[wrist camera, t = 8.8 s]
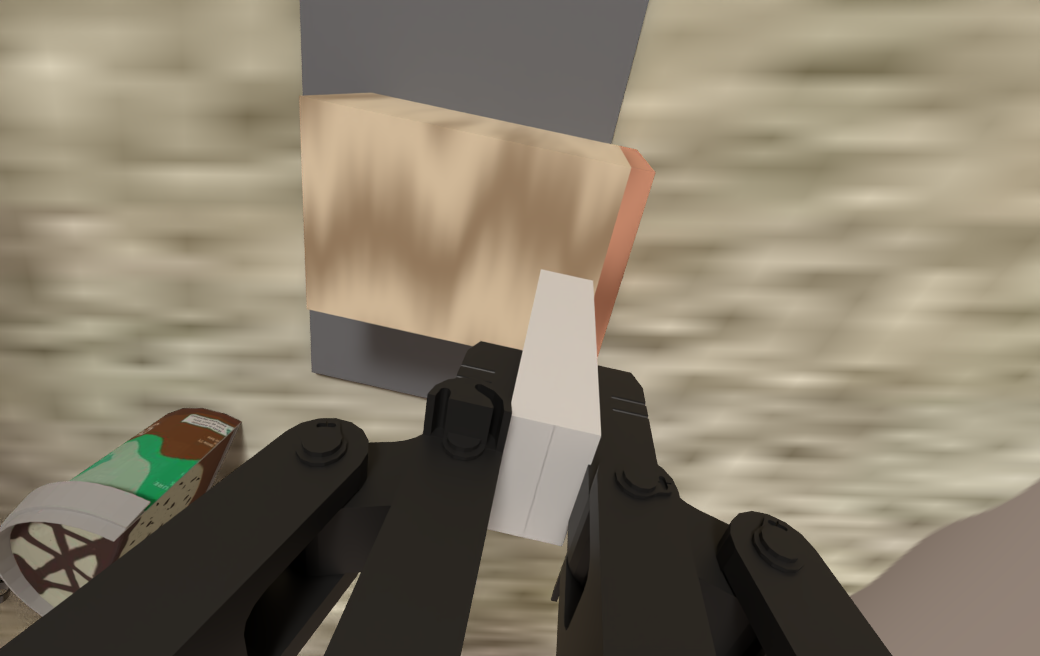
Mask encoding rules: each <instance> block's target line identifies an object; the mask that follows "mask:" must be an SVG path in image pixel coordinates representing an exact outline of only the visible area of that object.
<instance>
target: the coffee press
mask: <svg viewBox="0 0 1040 656" xmlns="http://www.w3.org/2000/svg"><path fill="white" fill-rule="evenodd" d="M0 589H5V590H7V592H6V593H4V594H3V595H1V596H0V603H2V602H4V601H5V600H6V599H7V598H8V597H9V596H10V590H11V589H10V588H9V587H8V586H7V585H6V584H5V582H4V581H0Z"/></svg>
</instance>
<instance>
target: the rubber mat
mask: <svg viewBox="0 0 1040 656" xmlns="http://www.w3.org/2000/svg"><path fill="white" fill-rule="evenodd" d="M648 2H649V0H300V23H301V54H302V85H303V96H307V95H329V94H352V93H375V94H380V95H385V96H389V97H394V98H399V99H403V100H408V101H413V102H417V103H422V104H427V105H431V106H436V107H441V108H445V109H450V110H455V111H459V112H464V113H469V114H473V115H478V116H482V117H487V118H492V119H496V120H501V121H506V122H510V123H515V124H520V125H524V126H529V127H534V128H538V129H543V130H548V131H552V132H557V133H562V134H566V135H571V136H576V137H580V138H585V139H589V140H594V141H599V142H603V143H608V144H611V142H612V138H613V135H614V131H615V127H616V123H617V119H618V116H619V112H620V108H621V104H622V100H623V97H624V93H625V89H626V85H627V81H628V78H629V74H630V70H631V66H632V62H633V59H634V55H635V51H636V47H637V43H638V40H639V36H640V32H641V28H642V24H643V21H644V17H645V13H646V9H647V5H648ZM310 332H311V363H312V372H314V373H318V374H323V375H327V376H331V377H336V378H340V379H345V380H349V381H354V382H358V383H362V384H367V385H371V386H376V387H380V388H384V389H389V390H393V391H398V392H402V393H406V394H411V395H415V396H420V397H424V398H427V395H428V393H429V392H430V390H431V389H432V388H433V387H434V386H435V385H436V384H438V383H441V382H443V381H445V380H447V379H454V378H456V376H457V373H458V371H459V368H460V366H461V364H462V361H463V359H464V357H465V354H466V352H467V350H468V349H470V348H471V347H473V346H470V345H465V344H461V343H456V342H452V341H447V340H443V339H438V338H434V337H429V336H425V335H421V334H416V333H412V332H407V331H403V330H398V329H394V328H389V327H385V326H380V325H376V324H371V323H367V322H363V321H358V320H354V319H349V318H345V317H340V316H336V315H331V314H327V313H322V312H318V311H313V310H310Z"/></svg>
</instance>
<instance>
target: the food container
mask: <svg viewBox="0 0 1040 656" xmlns="http://www.w3.org/2000/svg"><path fill="white" fill-rule="evenodd" d="M241 422H242V421H239V420H237V419H235V418H233V417H231V416H229V415H227V414H224V413H220V412H216V411H212V410H208V409H204V408H182V409H180V410H177V411H174V412H171V413H168V414H167V415H165V416H164V417H162V418H161V419H159V420H158V421H156V422H155V423H154V424H152V425H151V426H149V427H148V428H146V429H145V430H143V431H142V432H140V433H139V434H137V435H136V436H134V437H133V438H132V439H130V440H129V441H127V442H126V443H124V444H123V445H121V446H120V447H118V448H117V449H115V450H114V451H112V452H111V453H110V454H108V455H107V456H105V457H104V458H102V459H101V460H99V461H98V462H96V463H95V464H93V465H92V466H91V467H89V468H88V469H86V470H85V471H83V472H82V473H80V474H79V475H77V476H76V477H74V478H73V479H71V480H70V481H60V482H54V483H48V484H46V485H43V486H40V487H38V488H36V489H35V490H33V491H32V492H31V493H29V494H28V495H27V496H26V498H25V499H24V500H23V501H22V502H21V503H20V504H19V505H18V506H17V507H16V508H15V509H14V510H13V511H12V513H11V514H10V515H9V516H8V517H7V518H6V519H5V521H4V522H3V523H2V525H1V528H0V577H1V578H2V580H3V581H4V582H5V584H6V585H7V586H8V587H9V588H10V589H11V590H12V592H13V593H14V594H15V595H16V596H17V597H18V598H20V599H21V600H22V601H23V602H24V603H25V604H26V605H27V606H29V607H30V608H31V609H33V610H34V611H35V612H37V613H38V614H39V615H41V616H42V617H43V616H44V615H45V614H47V613H48V612H49V611H51V610H52V609H53V608H55V607H56V606H57V605H59V604H60V603H61V602H62V601H64V600H65V599H66V598H68V597H69V596H70V595H72V594H73V593H74V592H76V591H77V590H78V589H80V588H81V587H82V586H83V585H85V584H86V583H87V582H89V581H90V580H91V579H93V578H94V577H95V576H97V575H98V574H99V573H101V572H102V571H103V570H104V569H106V568H107V567H108V566H110V565H111V564H112V563H114V562H115V561H116V560H118V559H119V558H120V557H122V556H123V555H124V554H125V553H127V552H128V551H129V550H131V549H132V548H133V547H135V546H136V545H137V544H139V543H140V542H141V541H143V540H144V539H145V538H147V537H148V536H149V535H150V534H152V533H153V532H154V531H156V530H157V529H158V528H160V527H161V526H162V525H164V524H165V523H166V522H168V521H169V520H170V519H171V518H173V517H174V516H175V515H177V514H178V513H179V512H181V511H182V510H183V509H185V508H186V507H187V506H189V505H190V504H191V503H192V502H194V501H195V500H196V499H198V498H199V497H200V496H202V495H203V494H204V493H206V492H207V491H208V490H210V489H211V487H212V485H213V482H214V480H215V478H216V476H217V474H218V472H219V469H220V467H221V465H222V463H223V461H224V459H225V456H226V454H227V452H228V450H229V448H230V446H231V443H232V441H233V439H234V437H235V435H236V433H237V430H238V428H239V426H240V424H241Z"/></svg>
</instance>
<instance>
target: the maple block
mask: <svg viewBox="0 0 1040 656" xmlns="http://www.w3.org/2000/svg"><path fill="white" fill-rule="evenodd" d="M299 104H300V132H301V160H302V188H303V216H304V244H305V271H306V299H307V309H309V310H313V311H318V312H322V313H327V314H331V315H336V316H340V317H345V318H349V319H354V320H358V321H363V322H367V323H371V324H376V325H380V326H385V327H389V328H394V329H398V330H403V331H407V332H412V333H416V334H421V335H425V336H429V337H434V338H438V339H443V340H447V341H452V342H456V343H461V344H465V345H470V346H474V345H476V344H477V343H479V342H480V341H483V342H488V343H492V344H497V345H501V346H506V347H510V348H515V349H519V350H523V348H524V343H525V339H526V334H527V330H528V325H529V321H530V316H531V312H532V307H533V303H534V298H535V294H536V289H537V285H538V280H539V276H540V271H541V269H542V270H547V271H551V272H556V273H560V274H565V275H569V276H574V277H578V278H583V279H588V280H592V281H593V289H594V308H595V327H596V346H597V357H598V354H599V351H600V348H601V345H602V341H603V338H604V335H605V332H606V329H607V325H608V322H609V319H610V316H611V313H612V309H613V306H614V303H615V300H616V297H617V294H618V290H619V287H620V284H621V281H622V278H623V274H624V271H625V268H626V265H627V262H628V259H629V255H630V252H631V249H632V246H633V243H634V239H635V236H636V233H637V230H638V227H639V224H640V220H641V217H642V214H643V211H644V208H645V204H646V201H647V198H648V195H649V192H650V189H651V185H652V182H653V179H654V176H655V171H654V170H653V169H652V168H651V166H650V165H649V164H648V163H647V162H646V160H645V159H644V158H643V157H642V155H641V154H640V153H639V152H638V150H636V149H631V148H627V147H622V146H617V145H613V144H608V143H603V142H599V141H594V140H589V139H585V138H580V137H576V136H571V135H566V134H562V133H557V132H552V131H548V130H543V129H538V128H534V127H529V126H524V125H520V124H515V123H510V122H506V121H501V120H496V119H492V118H487V117H482V116H478V115H473V114H469V113H464V112H459V111H455V110H450V109H445V108H441V107H436V106H431V105H427V104H422V103H417V102H413V101H408V100H403V99H399V98H394V97H389V96H385V95H380V94H375V93H352V94H329V95H307V96H299Z"/></svg>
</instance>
